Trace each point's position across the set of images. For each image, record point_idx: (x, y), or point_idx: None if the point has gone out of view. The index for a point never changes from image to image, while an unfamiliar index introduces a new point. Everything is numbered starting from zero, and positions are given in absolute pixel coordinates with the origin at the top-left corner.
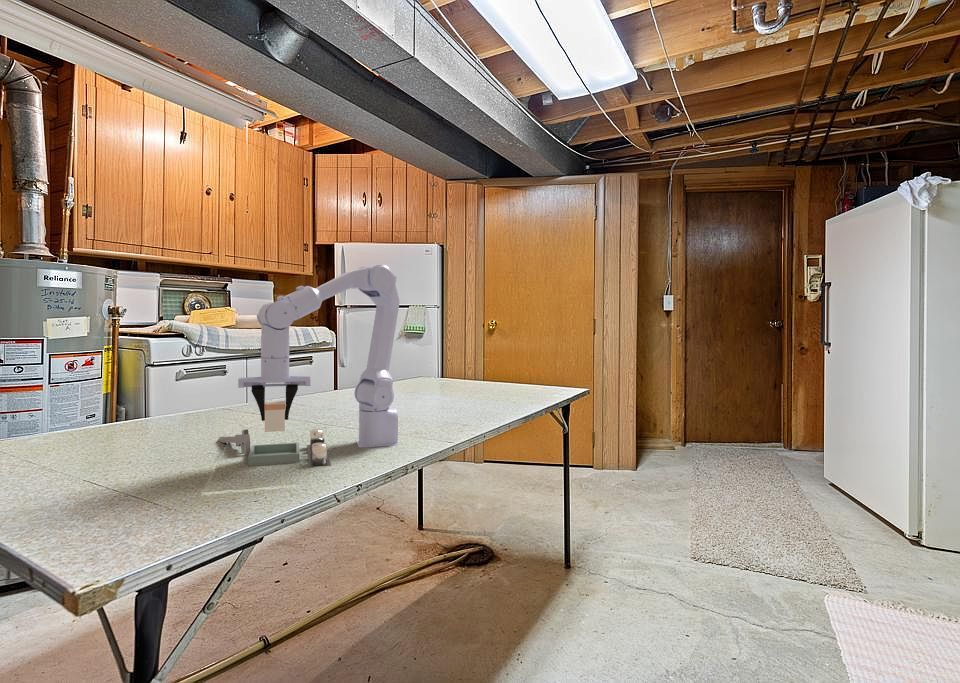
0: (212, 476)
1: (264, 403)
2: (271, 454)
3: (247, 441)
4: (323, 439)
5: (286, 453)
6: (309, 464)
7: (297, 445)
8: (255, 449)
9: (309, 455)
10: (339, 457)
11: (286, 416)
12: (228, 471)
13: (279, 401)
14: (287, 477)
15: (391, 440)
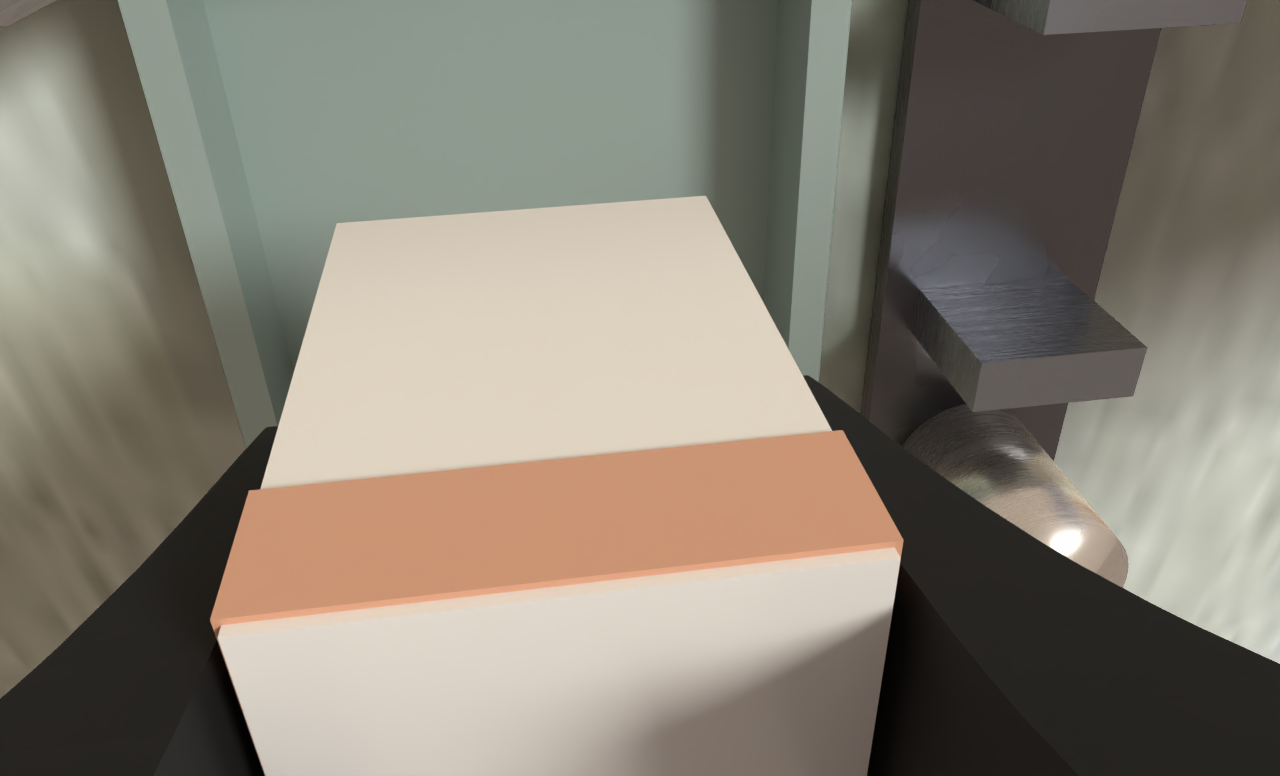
0: (31, 623)
1: (245, 749)
2: (450, 25)
3: (12, 9)
4: (1223, 21)
5: (649, 12)
6: None
7: (823, 67)
8: None
9: (917, 179)
10: (1205, 211)
11: None
12: (118, 512)
13: (712, 692)
14: None
15: None
